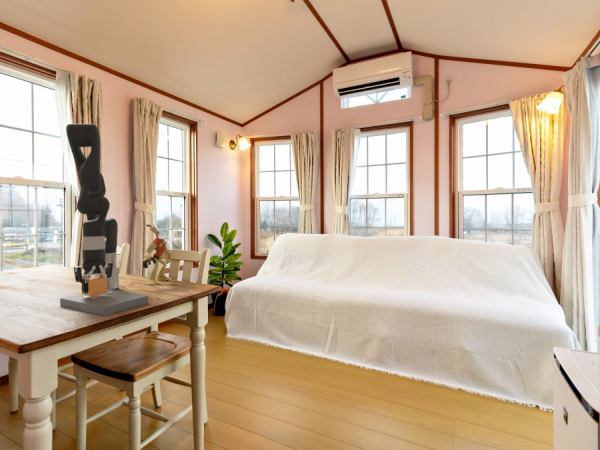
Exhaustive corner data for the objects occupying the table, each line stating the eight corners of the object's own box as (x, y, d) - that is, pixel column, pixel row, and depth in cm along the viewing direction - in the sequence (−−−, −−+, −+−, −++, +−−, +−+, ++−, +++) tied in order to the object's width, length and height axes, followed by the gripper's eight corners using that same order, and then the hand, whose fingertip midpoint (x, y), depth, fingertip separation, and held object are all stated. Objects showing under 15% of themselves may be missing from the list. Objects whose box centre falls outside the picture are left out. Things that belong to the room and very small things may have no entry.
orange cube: (97, 291, 128) (97, 276, 128) (107, 292, 126) (106, 277, 126) (81, 294, 123) (81, 278, 123) (91, 296, 120) (91, 280, 120)
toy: (149, 288, 152) (149, 225, 150) (133, 288, 153) (133, 225, 152) (176, 279, 174) (176, 224, 173) (161, 278, 176) (161, 223, 175)
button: (96, 302, 127) (96, 295, 127) (101, 303, 125) (101, 296, 125) (88, 304, 124) (88, 296, 124) (93, 305, 122) (93, 297, 122)
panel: (106, 295, 139) (106, 287, 139) (148, 303, 128) (148, 294, 128) (60, 306, 123) (60, 296, 122) (103, 315, 111) (103, 305, 111)
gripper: (106, 245, 132) (106, 286, 132) (68, 249, 119) (68, 293, 119) (117, 246, 129) (118, 288, 129) (80, 250, 116) (80, 296, 116)
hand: (94, 290), depth 124 cm, fingers closed on orange cube, 6 cm apart
